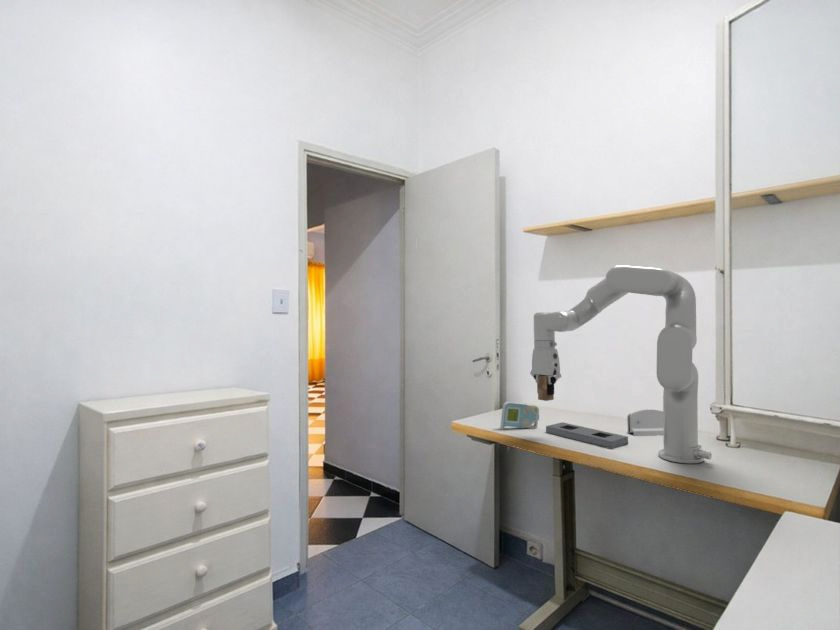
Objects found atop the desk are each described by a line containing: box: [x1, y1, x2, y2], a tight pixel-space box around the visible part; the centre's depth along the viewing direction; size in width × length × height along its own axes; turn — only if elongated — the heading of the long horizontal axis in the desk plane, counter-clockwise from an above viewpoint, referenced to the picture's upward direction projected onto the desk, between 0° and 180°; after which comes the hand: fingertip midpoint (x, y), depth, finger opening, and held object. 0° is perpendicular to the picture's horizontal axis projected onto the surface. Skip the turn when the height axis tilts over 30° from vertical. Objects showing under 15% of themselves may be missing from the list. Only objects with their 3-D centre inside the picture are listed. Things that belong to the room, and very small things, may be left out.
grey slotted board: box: [545, 422, 629, 450], centre depth 174 cm, size 28×10×2 cm, turn 35°
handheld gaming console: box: [499, 401, 540, 430], centre depth 190 cm, size 11×3×15 cm
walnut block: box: [537, 375, 555, 402], centre depth 176 cm, size 4×4×9 cm
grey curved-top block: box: [626, 409, 664, 437], centre depth 180 cm, size 17×5×10 cm, turn 92°
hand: (545, 393), depth 176 cm, fingers closed on walnut block, 4 cm apart
